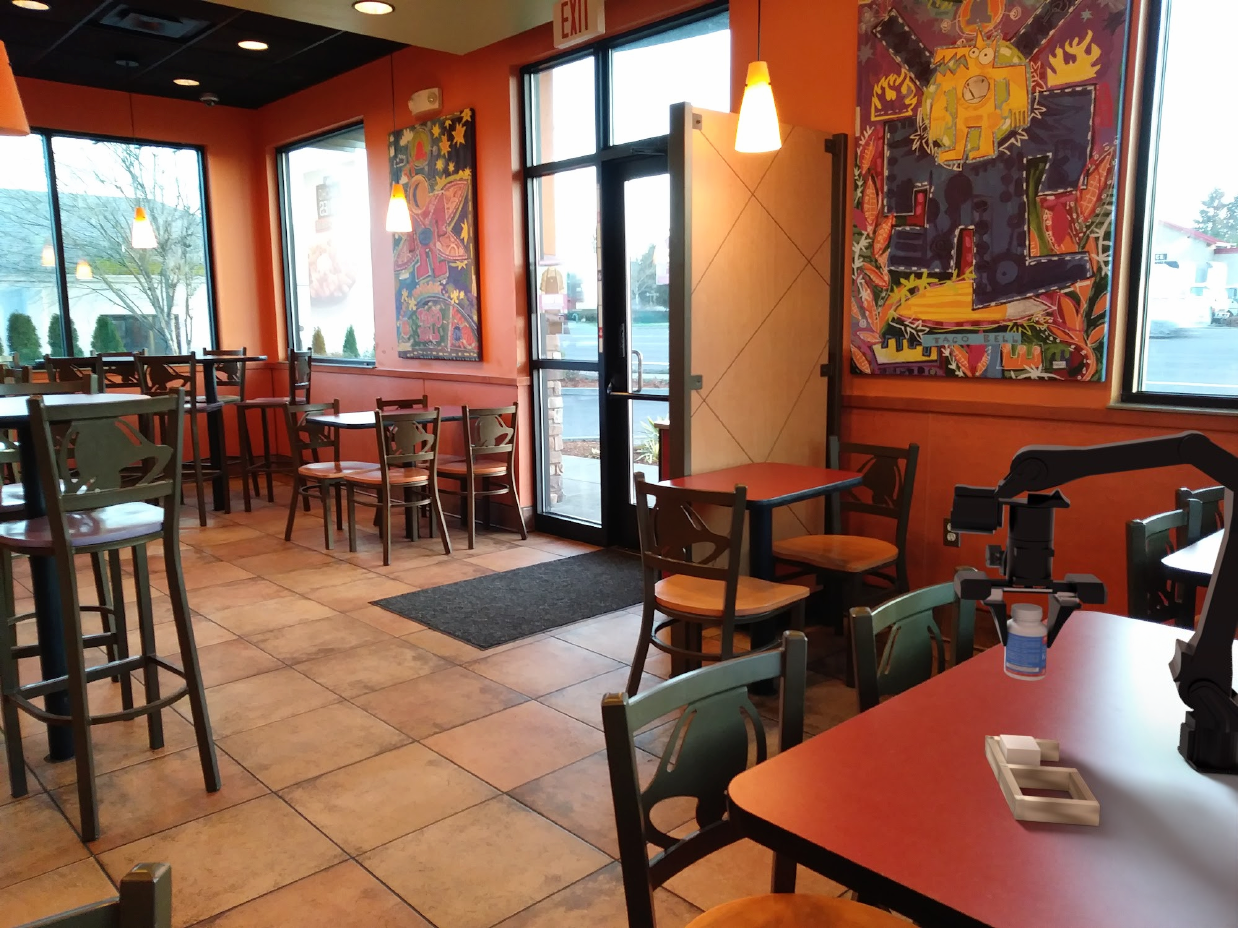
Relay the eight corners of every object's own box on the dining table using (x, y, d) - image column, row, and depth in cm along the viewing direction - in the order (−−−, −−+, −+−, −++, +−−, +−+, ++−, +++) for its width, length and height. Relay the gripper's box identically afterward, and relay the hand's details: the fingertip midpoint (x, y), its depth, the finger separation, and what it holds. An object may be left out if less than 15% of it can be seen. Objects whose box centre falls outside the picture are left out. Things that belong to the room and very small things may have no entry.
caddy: (1056, 757, 119) (1057, 739, 119) (1098, 825, 102) (1099, 805, 102) (984, 753, 121) (985, 735, 120) (1015, 819, 104) (1015, 799, 104)
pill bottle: (1050, 682, 122) (1053, 613, 121) (1008, 680, 123) (1010, 612, 122) (1040, 668, 128) (1042, 601, 126) (1000, 666, 129) (1002, 600, 127)
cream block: (1031, 765, 117) (1032, 736, 117) (1039, 779, 113) (1040, 750, 113) (998, 763, 118) (1000, 734, 118) (1005, 777, 114) (1007, 748, 114)
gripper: (1085, 526, 129) (1079, 630, 131) (949, 524, 132) (946, 625, 135) (1111, 544, 118) (1105, 657, 120) (962, 540, 122) (959, 650, 124)
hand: (1025, 646), depth 125 cm, fingers closed on pill bottle, 5 cm apart
